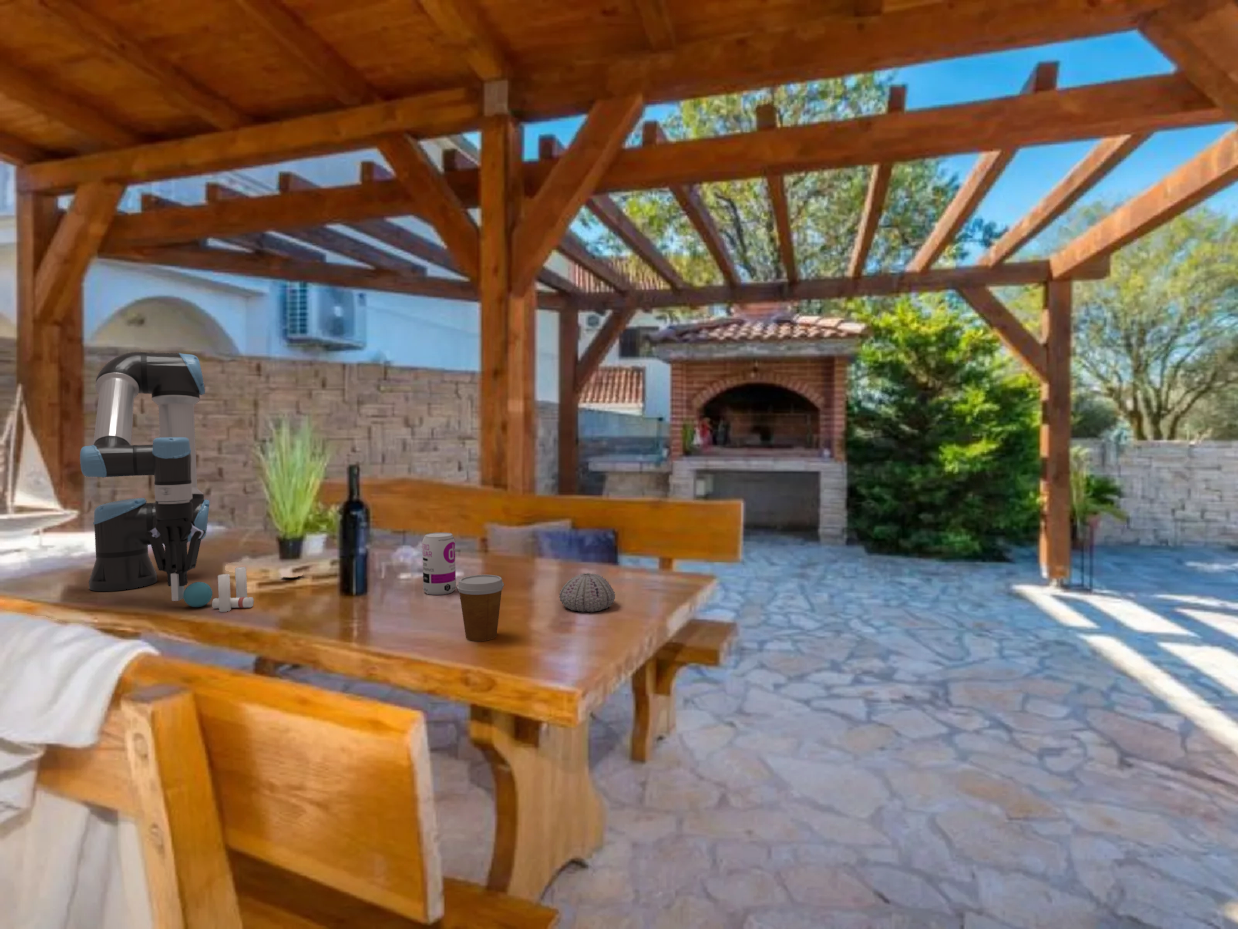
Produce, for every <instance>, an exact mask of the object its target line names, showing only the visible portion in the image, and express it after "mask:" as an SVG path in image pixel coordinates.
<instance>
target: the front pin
mask: <svg viewBox="0 0 1238 929" xmlns="http://www.w3.org/2000/svg"><path fill="white" fill-rule="evenodd" d="M230 599H231V609H245V608H247V609H248V608H252V607H253V606H254V602H255V601H254V597H253V596H247V597H240V598H236V597H230ZM211 606H212V608H213V609H219V597H218V598H217V597H215V598H213V599H212V602H211Z"/></svg>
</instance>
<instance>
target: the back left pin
mask: <svg viewBox="0 0 1238 929" xmlns="http://www.w3.org/2000/svg"><path fill="white" fill-rule="evenodd" d="M234 571H235V572H234V576H235V596H236V597H235V598H240V597H248V588H247V587H248V583H247V582H248V579H247V567H246V566H238V567H235V568H234Z"/></svg>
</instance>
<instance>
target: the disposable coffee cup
mask: <svg viewBox="0 0 1238 929" xmlns="http://www.w3.org/2000/svg"><path fill="white" fill-rule="evenodd" d="M504 586H505V584H504V582H503V578H502V577H501V576H499V575H494V574H475V575H469V576H468V575H467V576H464V577H461V578H460V579H458V584H456V589H457V591H458V592H459V599H460V606H461V612H462V613H461V614H462V620H463V627H464V634H465V638H466V639H467V640H468V641H471V642H485V641H492V640H493V639H495V638H496V637H497V636H498V629H499V628H498V627H499V618H500V609H501V601H502V600H501V599H502V591H503V589H504Z"/></svg>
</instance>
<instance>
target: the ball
mask: <svg viewBox="0 0 1238 929" xmlns="http://www.w3.org/2000/svg"><path fill="white" fill-rule="evenodd" d="M212 597H213V590H212V587H211V586H210V585H209V584H208V583H206V582H203V581H195V582H192V583H191V584H188V586H186V588H184V594H183V600H184V602H185V604H186V605H187V606H189V607H192V608H201V607H205V606H206V605H207V604H208V603H209V602H211V600H212Z"/></svg>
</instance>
